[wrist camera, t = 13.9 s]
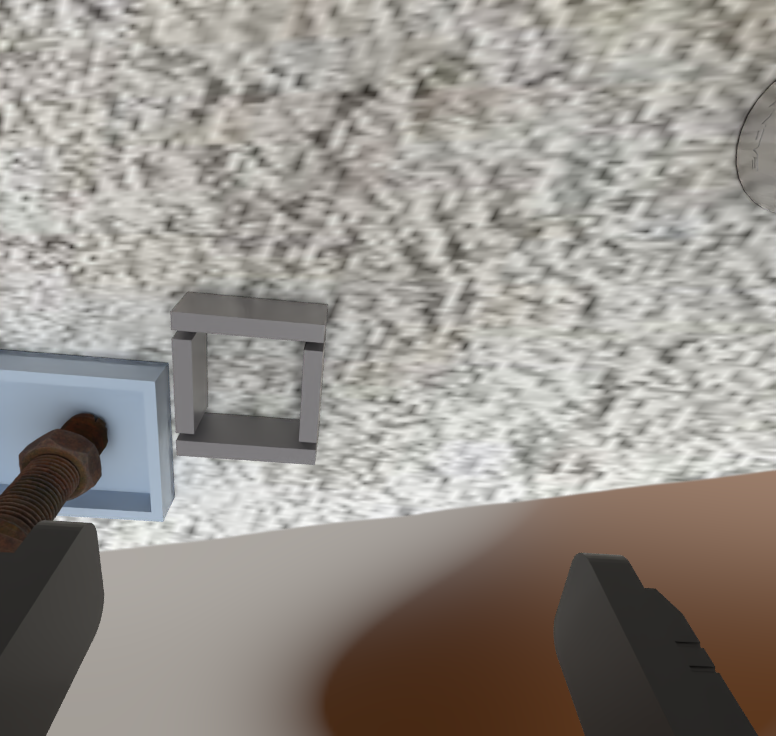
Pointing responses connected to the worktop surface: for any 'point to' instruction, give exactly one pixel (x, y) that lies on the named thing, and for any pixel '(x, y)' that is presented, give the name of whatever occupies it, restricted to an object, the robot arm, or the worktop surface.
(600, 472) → the worktop surface
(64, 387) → the parts tray
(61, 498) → the bolt
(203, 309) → the holder
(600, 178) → the worktop surface
